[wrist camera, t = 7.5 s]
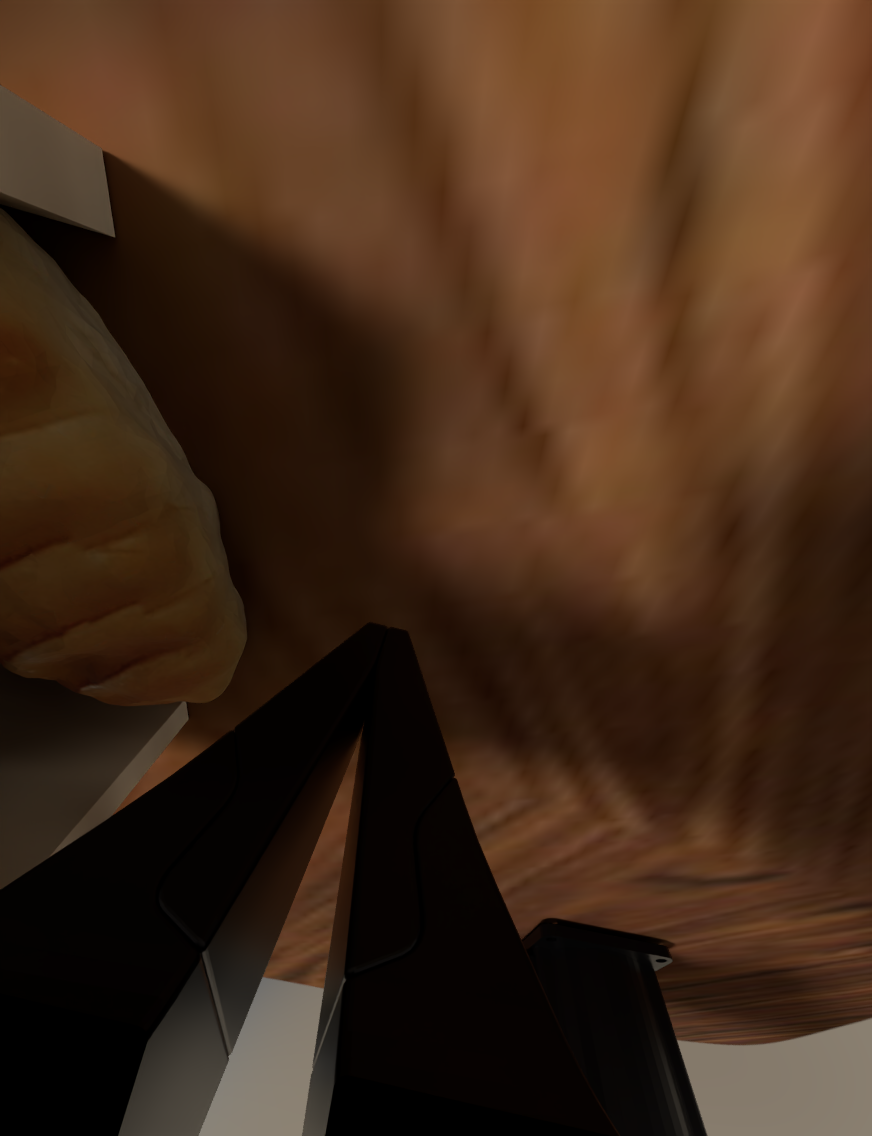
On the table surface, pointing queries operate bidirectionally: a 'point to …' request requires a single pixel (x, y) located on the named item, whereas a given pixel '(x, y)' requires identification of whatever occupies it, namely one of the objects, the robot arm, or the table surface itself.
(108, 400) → the pastry
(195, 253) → the table surface
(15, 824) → the plain beige box
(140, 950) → the robot arm
